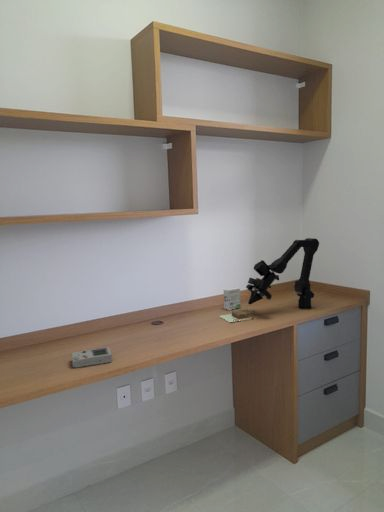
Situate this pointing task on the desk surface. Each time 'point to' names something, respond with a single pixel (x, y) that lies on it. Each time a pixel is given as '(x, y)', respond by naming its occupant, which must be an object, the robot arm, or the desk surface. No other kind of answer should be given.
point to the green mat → (228, 317)
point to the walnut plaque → (242, 314)
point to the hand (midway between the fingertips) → (248, 304)
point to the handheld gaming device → (91, 357)
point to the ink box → (231, 298)
